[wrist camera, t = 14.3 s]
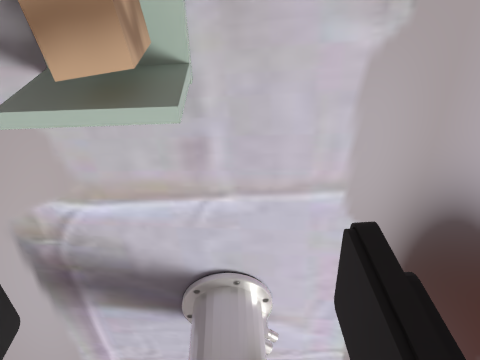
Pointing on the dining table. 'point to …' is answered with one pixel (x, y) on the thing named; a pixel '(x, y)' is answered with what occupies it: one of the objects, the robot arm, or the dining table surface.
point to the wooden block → (87, 35)
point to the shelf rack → (115, 84)
